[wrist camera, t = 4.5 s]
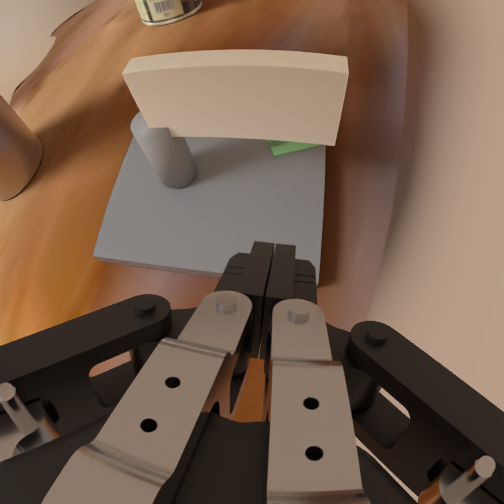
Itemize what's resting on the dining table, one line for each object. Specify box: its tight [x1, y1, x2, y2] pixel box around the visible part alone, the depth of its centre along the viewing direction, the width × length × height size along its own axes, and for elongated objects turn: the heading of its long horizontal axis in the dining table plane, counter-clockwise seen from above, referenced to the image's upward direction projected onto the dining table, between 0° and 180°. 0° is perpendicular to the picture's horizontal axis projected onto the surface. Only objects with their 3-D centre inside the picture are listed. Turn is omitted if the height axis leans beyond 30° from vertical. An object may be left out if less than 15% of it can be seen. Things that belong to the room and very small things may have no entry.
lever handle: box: [122, 50, 349, 189], centre depth 20 cm, size 14×3×12 cm, turn 82°
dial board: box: [93, 136, 326, 287], centre depth 27 cm, size 18×18×2 cm
